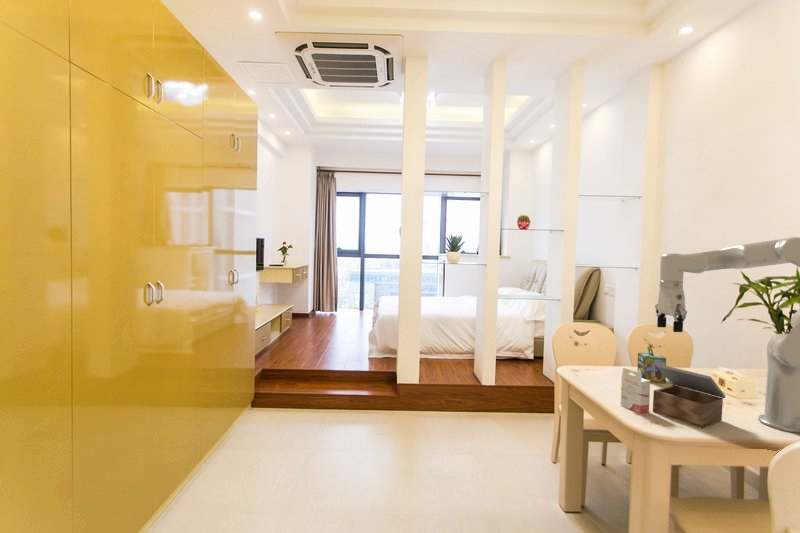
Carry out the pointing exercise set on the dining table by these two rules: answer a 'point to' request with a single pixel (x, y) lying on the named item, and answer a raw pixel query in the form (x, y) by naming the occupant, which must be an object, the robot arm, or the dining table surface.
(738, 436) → the dining table surface
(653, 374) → the chalk box
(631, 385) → the ink cartridge box
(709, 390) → the lid
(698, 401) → the box
